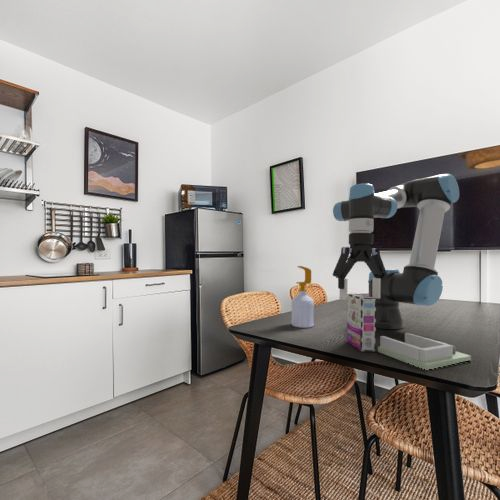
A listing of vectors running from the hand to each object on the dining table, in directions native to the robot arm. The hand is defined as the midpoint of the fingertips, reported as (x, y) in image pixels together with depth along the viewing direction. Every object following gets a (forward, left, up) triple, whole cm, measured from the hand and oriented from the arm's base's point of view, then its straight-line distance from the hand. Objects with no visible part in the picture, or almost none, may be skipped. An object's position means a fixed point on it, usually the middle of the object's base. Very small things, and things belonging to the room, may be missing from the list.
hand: (360, 298), depth 97 cm
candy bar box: (0, 0, -16) cm, 16 cm away
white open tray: (-10, +14, -15) cm, 23 cm away
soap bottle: (+2, -31, -16) cm, 35 cm away
